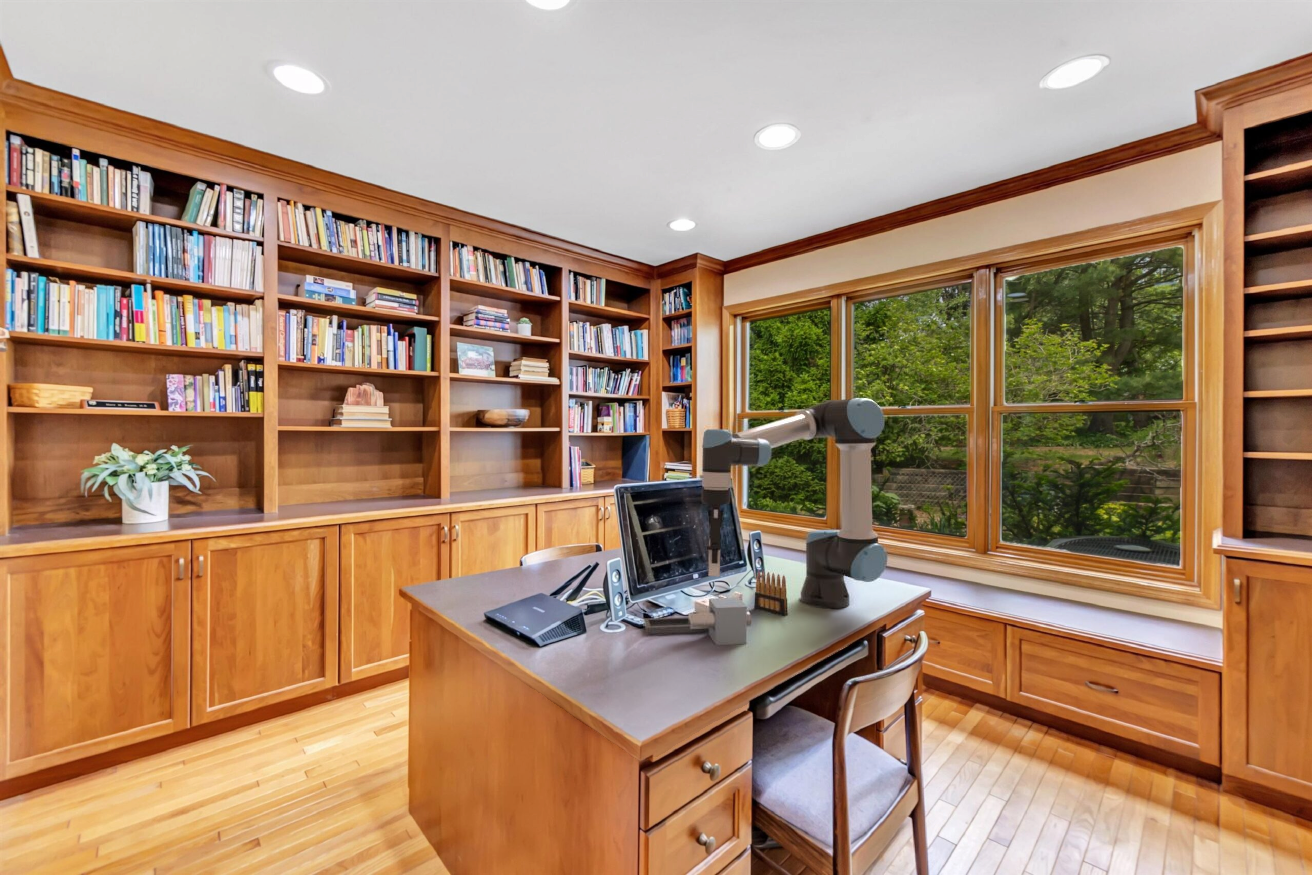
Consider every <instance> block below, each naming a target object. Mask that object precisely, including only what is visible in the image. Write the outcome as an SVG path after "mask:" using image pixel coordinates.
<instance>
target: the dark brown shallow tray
mask: <svg viewBox="0 0 1312 875" xmlns="http://www.w3.org/2000/svg"><path fill="white" fill-rule="evenodd" d="M643 623H644V628H645V631H646V632H645V633H646V635H647V636H652V635H654V636H655V635H657V636H658V635H677V634H679V635H680V634H681V635H682V634H698V633H699V634H700V633H701V634H702V633H704V634H705V633H709V628H700V629H690V628H689V624H688V616H680V617H679V616H678V617H655V618H654V617H651V618H650V617H649V618H644V622H643Z"/></svg>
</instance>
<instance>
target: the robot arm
mask: <svg viewBox="0 0 1312 875" xmlns="http://www.w3.org/2000/svg"><path fill="white" fill-rule="evenodd" d="M884 428H885V416H884V412H883V410H882V408H881V407H880V405H878V403H877V402H876V401H874V400H873V399H870V398H860V397H856V398H846V399H845V398H844V399H834V400H833V399H832V400H828V401H824V402H820V403H818V404H816V405H812V406H809V407H807V408H803V409H801V410H798V411H796V413H795V414H794V415H792V416H788V417H785V418H781V419H778V420H776V421H775V420H774V421H772V422H769V423H766V424H765V423H764V424H762V425H758V426H755V427H751V428H748V429H745V430H741V431H739V432H735V433H733V432H732V430H731V429H716V428H715V429H714V428H713V429H705V431H703V437H702V438H703V439H702V445H701V448H702V464H701V467H702V468H701V469H702V470H701V472H702V474H700V475H699V479H702V480H701V486H702V489H701V497H700V498H701V500H700V502H702V504H705V505H706V504H707V505H709V507H710V509H707V518H708V527H709V533H708V534H709V537H708V538H709V539H708V545H707V546H706V550H707V551H708V577H720V576H721V574H720V572H721V571H720V570H721V567H720V566H721V547H722V546H721V540H722V535H721V528H722V527H723V518H724V510H722V509H721V505H723V506H724V505H729V504H730V503H731V490H730V488H731V487H732V466H739V467H741V466H742V467H762V466H766V465H768V463H769V462H770V460H771V458H772V449H774V448H777V447H780V446H783V445H786V444H790V443H792V442H795V441H798V440H802V439H803V440H812V439H815V438H816V439H817V438H834V445H835V446H836V447H837V448H838V449H839V450H840V452H839V453H840V454H839V455H840V457H839V458H840V460H839V462H840V494H841V495H840V497H841V499H840V500H841V529H817V530H811V531H809V532H808V533H807V534H806V542H805V547H806V548H805V552H806V554H805V558H806V559H805V561H806V563H805V566H806V568H805V569H806V573H805V574H806V576H805V579H804V581H803V584H802V587H801V590H800V600H801V602H803V603H804V604H806V605H808V606H812V607H818V608H822V609H823V608H824V609H842V608H845V607H848V606H849V605H850V594H849V592H848V588H847V585H846V582H845V577H846V578H847V577H848V578H850V579H853V580H855V581H859V582H865V583H870V582H874V581H876V580H877V579H879V578H880V577H881V576H882V574H883V573H884V571H885V569H886V567H887V564H888V553H887V552H888V551H887V550H886V549H885V547H884V546H883V545H881V543H879V535H878V533H877V532H875V531H874V529H873V502H872V496H873V495H872V457H871V456H872V451H871V450H872V448H874V447H875V445H876V444H877V437H879V436H881V434H882V433H883V432H882V431H883V430H884Z"/></svg>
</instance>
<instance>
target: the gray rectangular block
mask: <svg viewBox="0 0 1312 875" xmlns="http://www.w3.org/2000/svg"><path fill="white" fill-rule="evenodd" d="M747 610H748V608H747V606H746V604H744V602H743V600H742V601H741V600H740V599H739V598H732V597H727V598H718V597H714V598H711V599H709V613H715V628H709V632H708V635H709V636H710V638H711V640H712V641H713V643H714V644H715V646H725V645H742V644H743V645H746V644H747V636H748V635H747V630H748V629H747V628H748V627H747Z"/></svg>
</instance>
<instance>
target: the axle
mask: <svg viewBox="0 0 1312 875" xmlns="http://www.w3.org/2000/svg"><path fill="white" fill-rule="evenodd" d="M751 616H752V615H751V613H750V611H749V610H748V611H747V628H748V627H751V626H752V617H751ZM687 617H688V624H689V628H690V629H700V628H715V613H697V612H695V613H692V612H691V613H688V616H687Z"/></svg>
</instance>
